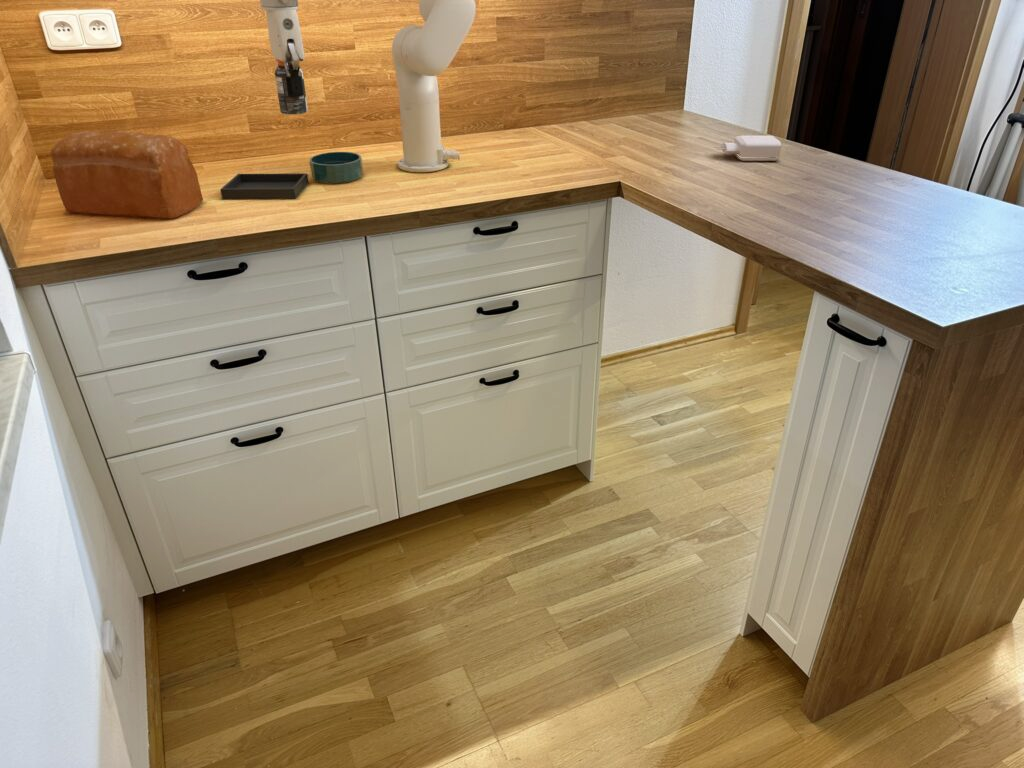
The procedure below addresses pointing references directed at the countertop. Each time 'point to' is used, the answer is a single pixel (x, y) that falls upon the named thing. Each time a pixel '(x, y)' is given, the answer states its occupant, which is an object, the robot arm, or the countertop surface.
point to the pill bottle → (287, 103)
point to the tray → (265, 186)
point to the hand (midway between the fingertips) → (291, 92)
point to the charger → (753, 148)
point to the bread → (125, 174)
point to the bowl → (336, 167)
